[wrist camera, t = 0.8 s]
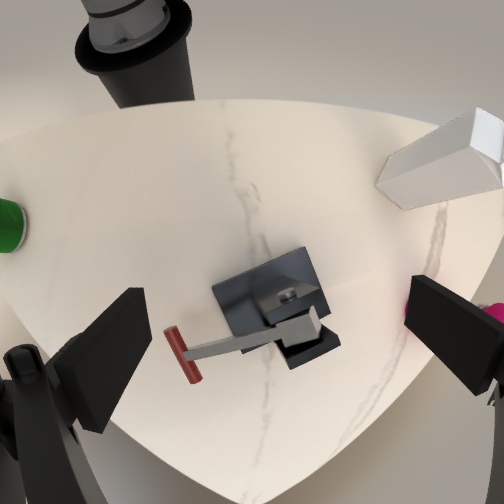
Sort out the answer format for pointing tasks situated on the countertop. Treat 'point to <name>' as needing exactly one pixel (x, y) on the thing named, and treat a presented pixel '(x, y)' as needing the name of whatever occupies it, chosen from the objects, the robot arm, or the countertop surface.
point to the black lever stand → (277, 303)
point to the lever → (244, 340)
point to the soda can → (11, 226)
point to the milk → (447, 163)
